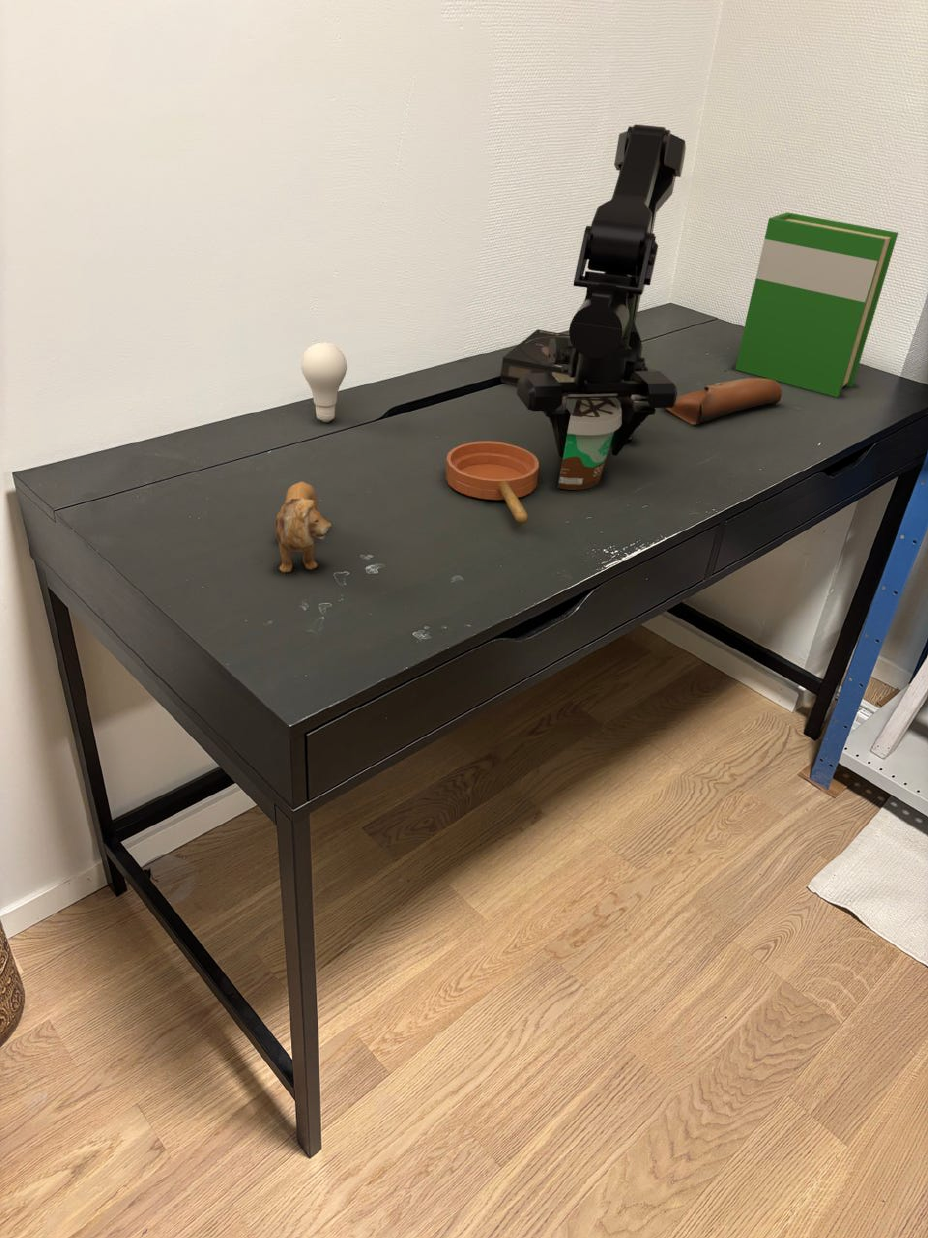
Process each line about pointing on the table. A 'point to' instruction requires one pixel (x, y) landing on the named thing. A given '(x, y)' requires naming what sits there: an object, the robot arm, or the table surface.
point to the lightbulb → (324, 376)
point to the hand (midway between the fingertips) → (587, 455)
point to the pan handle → (513, 502)
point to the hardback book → (814, 301)
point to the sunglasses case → (725, 399)
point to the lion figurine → (299, 525)
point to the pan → (491, 469)
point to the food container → (588, 441)
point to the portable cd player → (533, 359)
